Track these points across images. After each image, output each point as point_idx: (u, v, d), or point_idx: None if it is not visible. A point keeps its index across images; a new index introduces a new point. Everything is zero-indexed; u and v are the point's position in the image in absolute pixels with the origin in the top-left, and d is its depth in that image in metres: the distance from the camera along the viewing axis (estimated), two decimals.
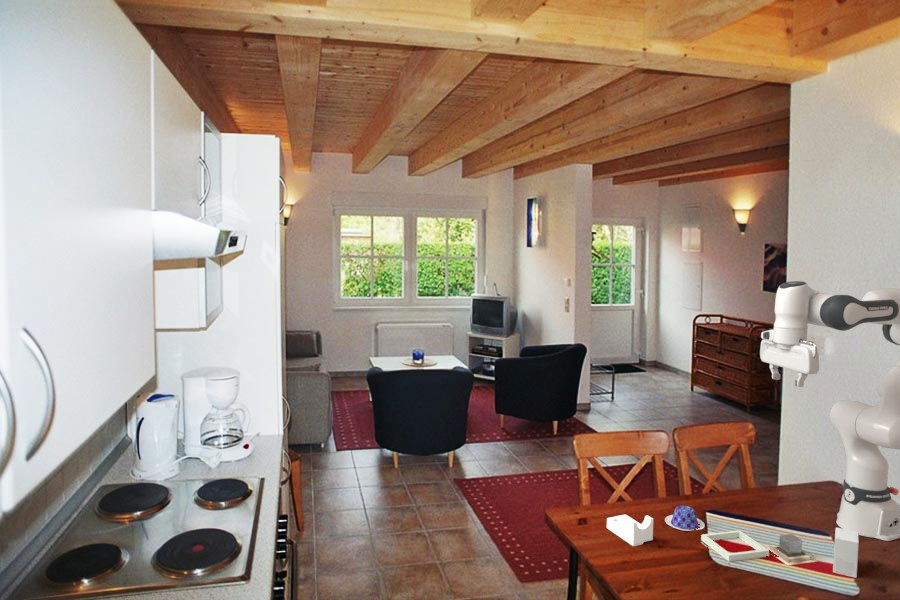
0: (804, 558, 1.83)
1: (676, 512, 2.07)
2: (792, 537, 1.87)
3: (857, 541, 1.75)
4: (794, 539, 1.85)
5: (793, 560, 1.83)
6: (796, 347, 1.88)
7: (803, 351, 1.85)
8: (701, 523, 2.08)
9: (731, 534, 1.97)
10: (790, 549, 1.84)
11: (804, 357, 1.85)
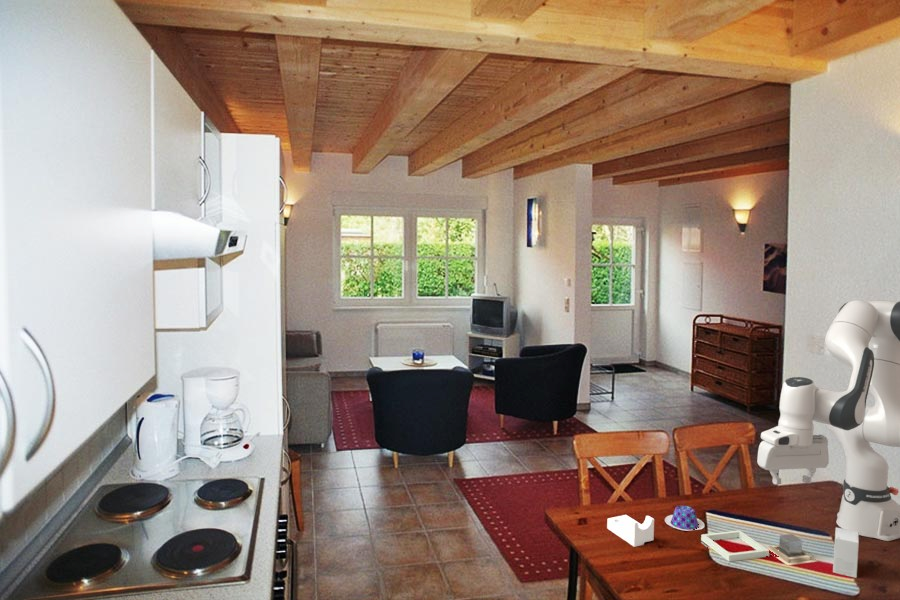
0: (804, 558, 1.83)
1: (676, 512, 2.08)
2: (792, 537, 1.87)
3: (858, 541, 1.75)
4: (794, 539, 1.85)
5: (793, 560, 1.83)
6: (814, 444, 1.84)
7: (823, 447, 1.84)
8: (701, 523, 2.08)
9: (731, 534, 1.97)
10: (790, 549, 1.84)
11: (824, 452, 1.84)
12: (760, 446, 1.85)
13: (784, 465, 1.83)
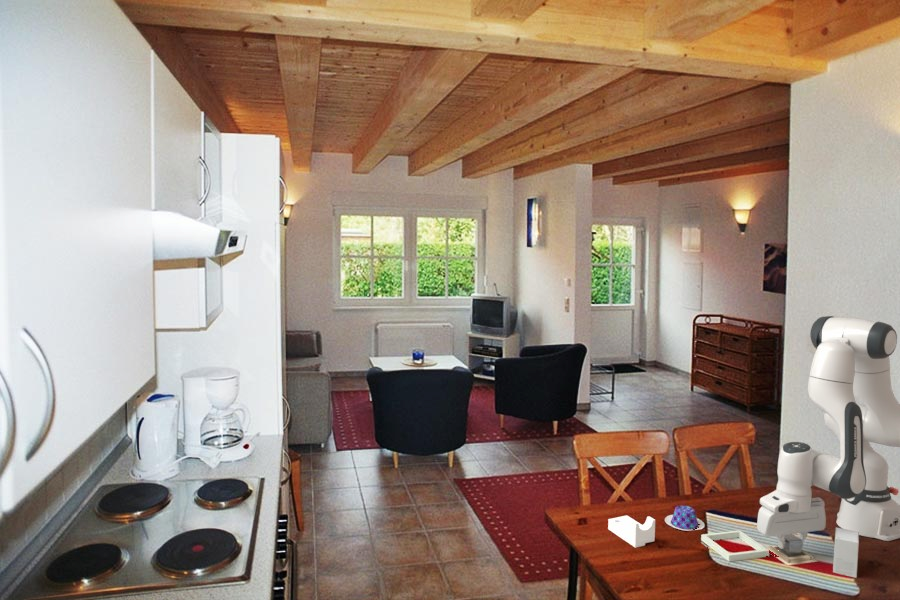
0: (804, 558, 1.83)
1: (676, 512, 2.08)
2: (792, 537, 1.87)
3: (857, 541, 1.75)
4: (794, 539, 1.85)
5: (793, 560, 1.83)
6: (811, 508, 1.85)
7: (820, 510, 1.86)
8: (701, 523, 2.08)
9: (731, 534, 1.97)
10: (790, 549, 1.84)
11: (821, 515, 1.86)
12: (760, 512, 1.85)
13: (784, 531, 1.83)
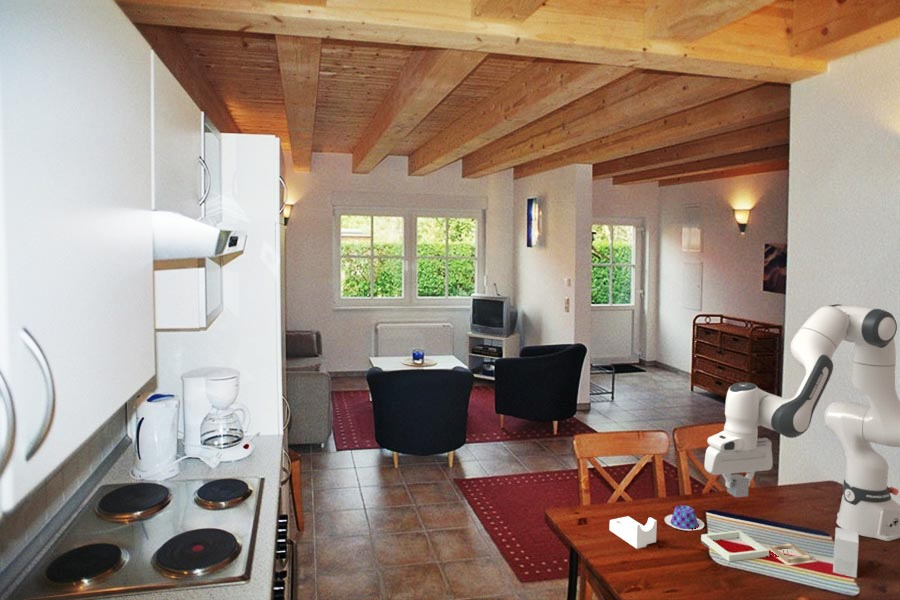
0: (804, 558, 1.83)
1: (675, 512, 2.08)
2: (739, 477, 1.89)
3: (857, 541, 1.75)
4: (741, 478, 1.87)
5: (793, 560, 1.83)
6: (758, 448, 1.87)
7: (767, 450, 1.88)
8: (701, 523, 2.08)
9: (731, 534, 1.97)
10: (737, 488, 1.86)
11: (768, 455, 1.88)
12: (707, 451, 1.87)
13: (730, 469, 1.86)
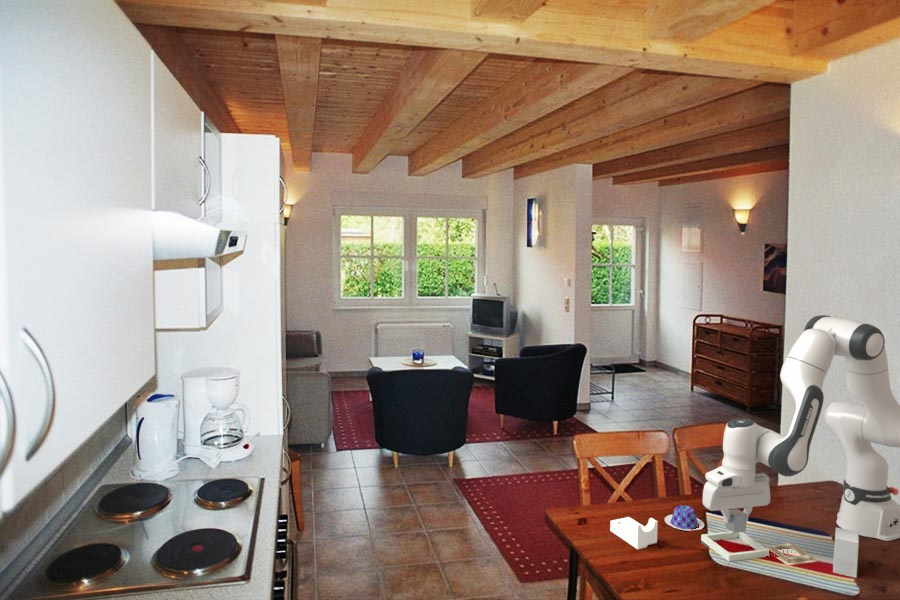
0: (804, 558, 1.83)
1: (676, 512, 2.08)
2: (737, 512, 1.90)
3: (857, 541, 1.75)
4: (739, 514, 1.89)
5: (793, 560, 1.83)
6: (756, 483, 1.88)
7: (764, 485, 1.89)
8: (700, 522, 2.09)
9: (731, 534, 1.97)
10: (735, 523, 1.87)
11: (765, 490, 1.89)
12: (705, 487, 1.88)
13: (728, 505, 1.87)
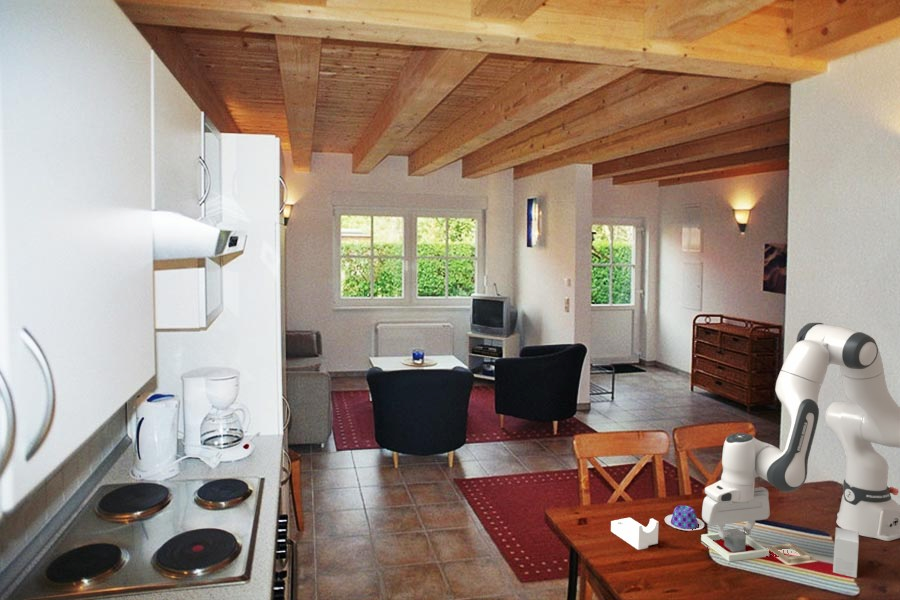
0: (804, 558, 1.83)
1: (676, 512, 2.07)
2: (736, 532, 1.90)
3: (858, 541, 1.75)
4: (738, 533, 1.89)
5: (793, 560, 1.83)
6: (755, 498, 1.89)
7: (763, 499, 1.89)
8: (700, 522, 2.09)
9: None
10: (734, 543, 1.88)
11: (765, 504, 1.90)
12: (704, 501, 1.89)
13: (727, 520, 1.87)
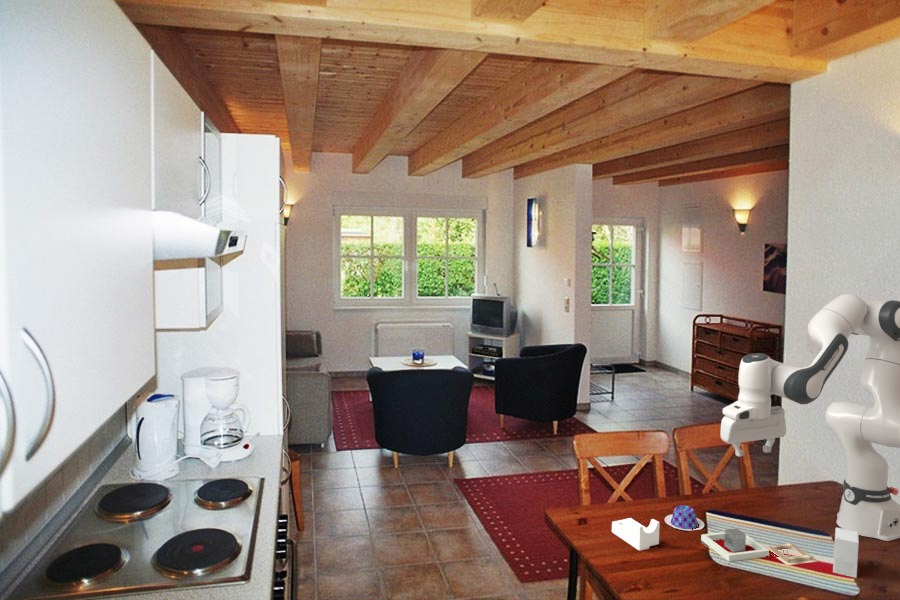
0: (804, 558, 1.83)
1: (677, 512, 2.07)
2: (736, 532, 1.90)
3: (858, 541, 1.75)
4: (738, 533, 1.89)
5: (793, 560, 1.83)
6: (772, 416, 1.93)
7: (780, 417, 1.94)
8: (700, 521, 2.09)
9: None
10: (734, 543, 1.88)
11: (781, 422, 1.94)
12: (722, 421, 1.93)
13: (745, 438, 1.92)
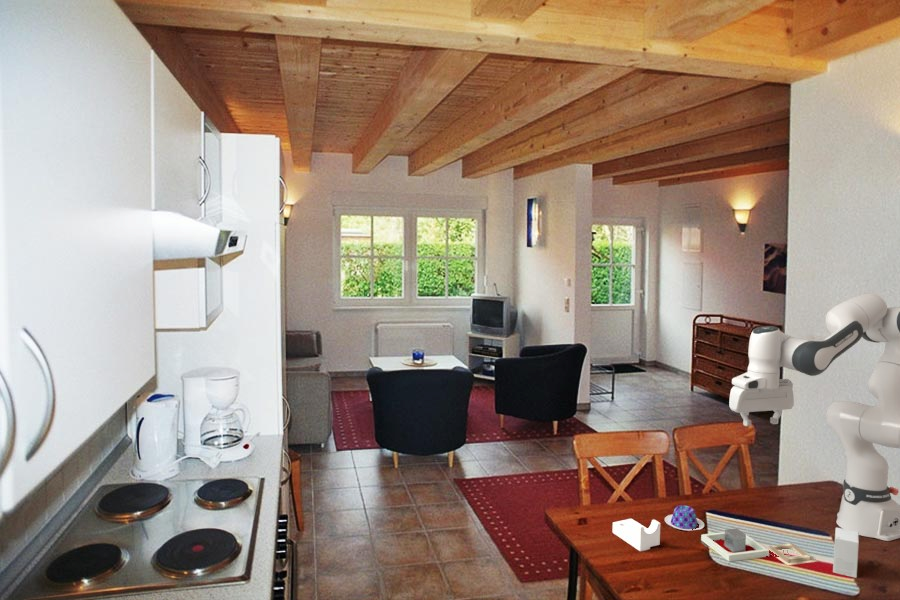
0: (804, 558, 1.83)
1: (677, 512, 2.07)
2: (736, 532, 1.90)
3: (857, 541, 1.75)
4: (738, 533, 1.89)
5: (793, 560, 1.83)
6: (780, 387, 1.97)
7: (788, 390, 1.98)
8: (699, 521, 2.10)
9: None
10: (734, 543, 1.88)
11: (789, 394, 1.98)
12: (731, 391, 1.98)
13: (754, 407, 1.96)
